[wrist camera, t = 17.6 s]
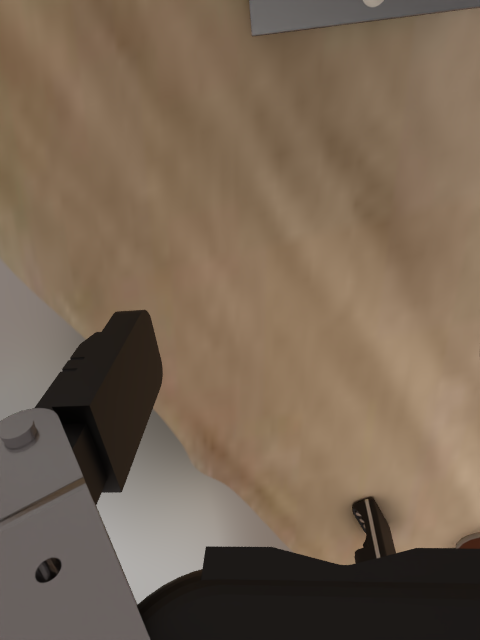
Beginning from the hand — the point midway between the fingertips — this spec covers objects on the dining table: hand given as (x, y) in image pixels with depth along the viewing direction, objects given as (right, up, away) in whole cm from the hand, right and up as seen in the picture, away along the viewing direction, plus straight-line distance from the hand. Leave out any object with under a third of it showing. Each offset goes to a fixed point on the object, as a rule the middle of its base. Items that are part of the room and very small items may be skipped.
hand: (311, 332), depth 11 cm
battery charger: (+15, -25, +46) cm, 54 cm away
